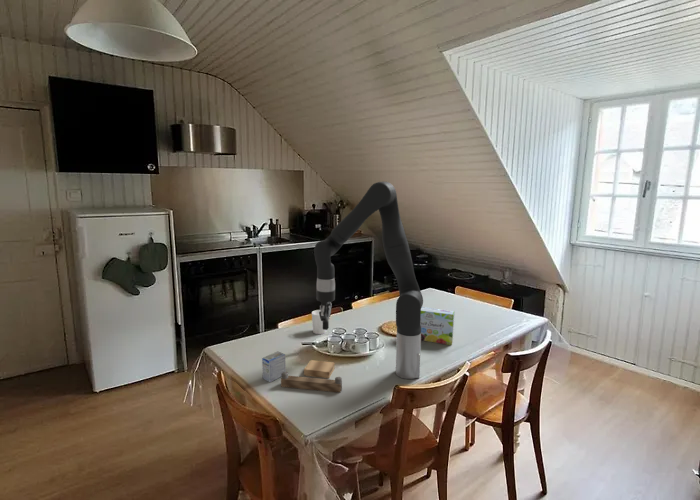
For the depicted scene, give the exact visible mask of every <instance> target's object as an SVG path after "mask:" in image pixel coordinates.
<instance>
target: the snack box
mask: <svg viewBox="0 0 700 500" xmlns="http://www.w3.org/2000/svg"><path fill="white" fill-rule="evenodd" d="M420 324H421V342H429V343H437V344H440V345H447V346H452V345H453V340H454V330H455V329H454V327H455V310H447V309H438V308H432V307H423V306H422V308H421V320H420Z"/></svg>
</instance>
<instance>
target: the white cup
mask: <svg viewBox="0 0 700 500" xmlns="http://www.w3.org/2000/svg"><path fill="white" fill-rule="evenodd" d="M319 312H321V310H320V309H316V310H313V311H311V322H312V323H311V324H312V332H313V334H315V335H324V334H326V333H327V331H328V330H323V321H321V319H320V315H319Z"/></svg>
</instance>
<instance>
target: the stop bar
mask: <svg viewBox="0 0 700 500" xmlns="http://www.w3.org/2000/svg"><path fill="white" fill-rule="evenodd" d="M280 386H281V387H282V388H290V389H301V390H310V391H311V390H312V391H319V392H320V391H321V392H330V393H341V392H342V390H343V378H342V377H341V376H336V377H335V378H334V379H330V378H320V377H310V376H297V375H289V372H287V371H286V372H283V373H282V376H281V377H280Z"/></svg>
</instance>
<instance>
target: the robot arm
mask: <svg viewBox="0 0 700 500" xmlns="http://www.w3.org/2000/svg"><path fill="white" fill-rule="evenodd" d="M377 211H378V212H379V215H380V219H381V226H382V227H381V228H382V229H381V235H382V236H381V238H382V246H383V250H384V255H385V258H386V261H387V264H388V265H389V267H390V269H391V270H392V272H393V275H394V276H395V279H396V283H397V287H398V293H399V296H398V297H397V300H396V304H395V326H396V344H395V345H396V348H395V350H396V351H395V374H396V376H397V377H399V378H401V379H406V380H413V379H419V378H420V372H421V371H420V370H421V346H422V345H421V344H422V343H421V342H422V340H421V324H420V320H421V308H422V307H423V304H424V298H423V294H422V291H421V289H420V286H419V283H418V281H417V279H416V274H415V269H414V263H413V259H412V254H411V250H410V245H409V242H408V239H407V235H406V231H405V229H404V225H403V222H402V219H401V215H400V210H399V203H398V196H397V191H396V188H395V186H394V185H393V184H392V183H390V182H389V181H377V182H375V183H373V184H371V186H370V187H369V188H368V190H367V191H366V193H365V194H364V196H362V198H361V199H360V201H359V202H358V203H357V205H356V206H354V208H352V210H350V212H349V213H348V214H347V215H346V216H345V217H344V218H343V219H342V220H340V222H339V223H337V224H336V226H335V227H334V228H333V229H332V230H331V232H330V234H328V235H329V236H327V237H326V238H325V239H323V240H320V241H317V243H316V244H314V245H315V246H314V249H313V252H314V253H313V255H314V260H315V265H316V301H317V302H320V305H319V310H321V312H319V315H320V319H321V321H323V330H327V331H328V330H329V325H330V321H329V320H330V317H331V314H332V307H333V303H332V302H333V301H335V300H336V280H335V279H336V277H335V265H334V264H333V263H332V261H331V257H333V256H334V255H335V254H336V253H337V252H338V251H339V250H340V249H341V248H342V247H343V245H344V244H345V243H346V242H347V241H349V240H350V238H352V237H353V236H354V234H356V232H357V231H358V230H359V229H360V228H361V226H362V225H363V224H364V223H365V222H366V220H368V219H369V218H370V216H372V214H374V213H375V212H377Z"/></svg>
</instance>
